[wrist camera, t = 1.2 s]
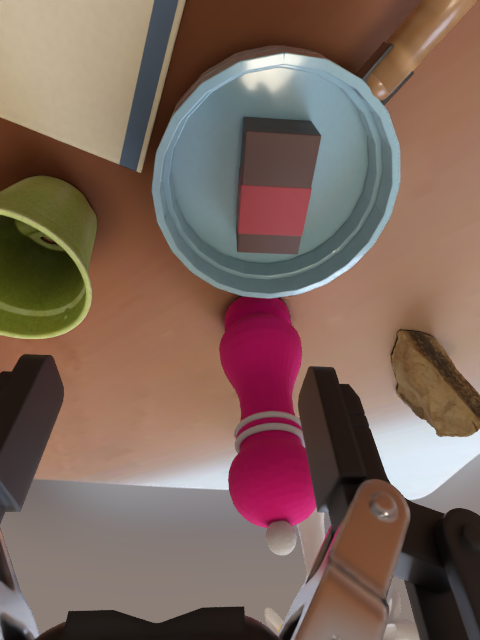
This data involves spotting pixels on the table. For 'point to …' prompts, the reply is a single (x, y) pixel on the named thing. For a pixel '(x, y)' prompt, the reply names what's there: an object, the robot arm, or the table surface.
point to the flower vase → (398, 633)
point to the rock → (434, 385)
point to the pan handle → (410, 45)
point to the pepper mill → (267, 420)
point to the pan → (224, 161)
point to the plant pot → (44, 258)
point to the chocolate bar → (274, 183)
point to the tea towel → (88, 71)
